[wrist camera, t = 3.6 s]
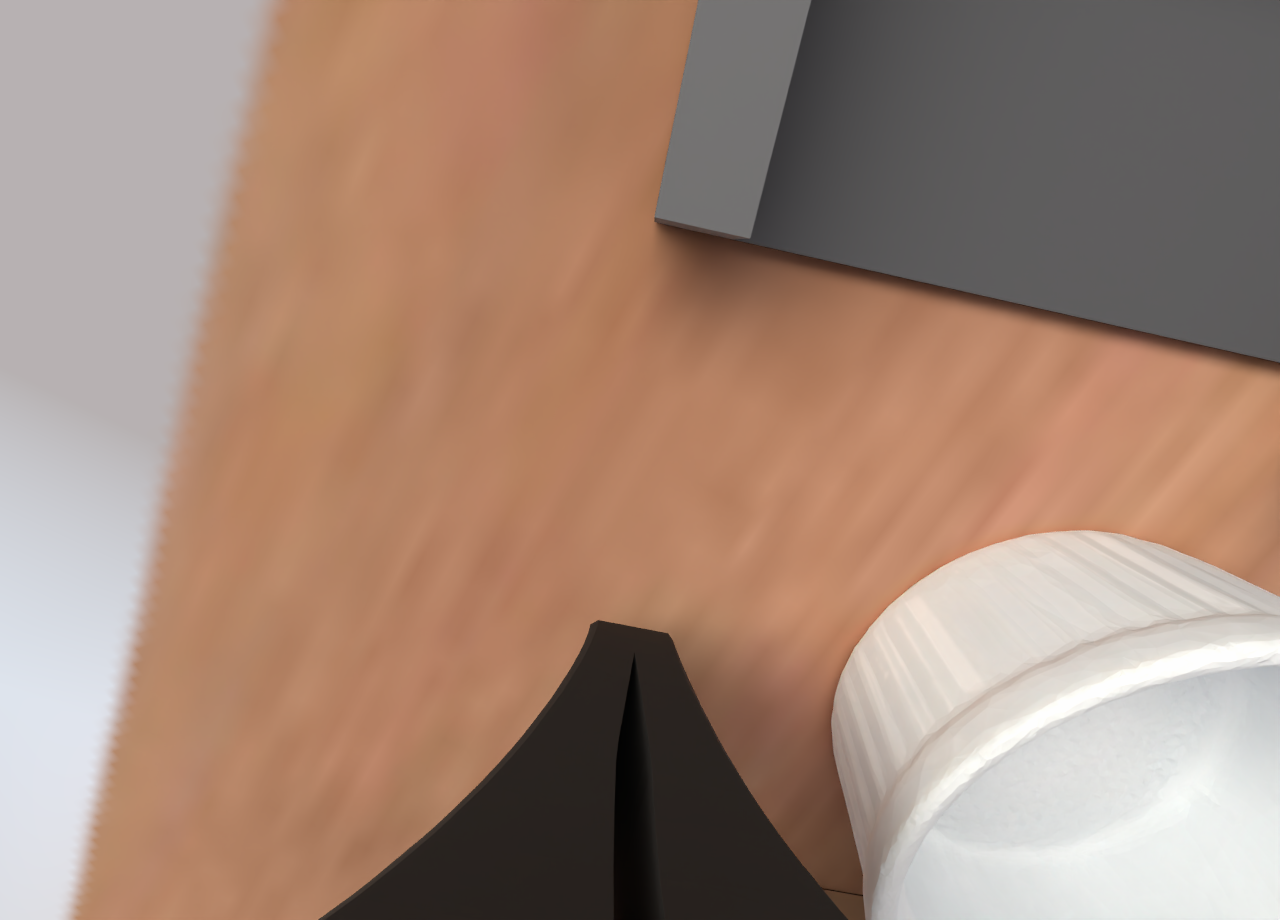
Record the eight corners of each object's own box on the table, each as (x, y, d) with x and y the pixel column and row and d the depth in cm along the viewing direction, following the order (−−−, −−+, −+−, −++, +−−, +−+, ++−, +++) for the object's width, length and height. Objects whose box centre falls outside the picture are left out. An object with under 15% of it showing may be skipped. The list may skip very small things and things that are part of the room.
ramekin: (749, 580, 12) (800, 765, 7) (1254, 428, 10) (1645, 550, 6) (858, 893, 14) (940, 1154, 10) (1268, 802, 13) (1547, 1057, 9)
